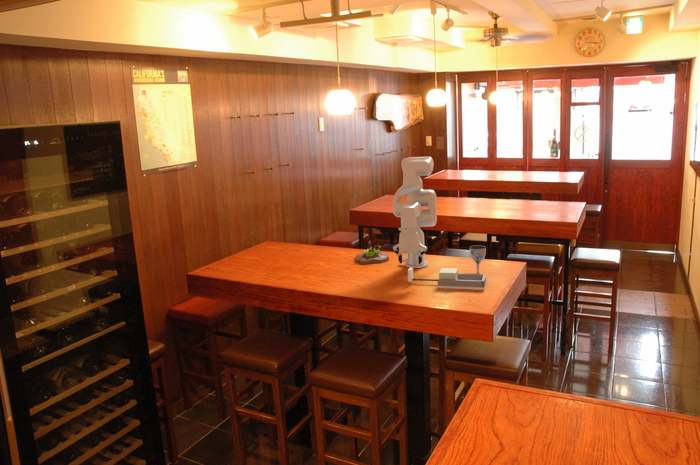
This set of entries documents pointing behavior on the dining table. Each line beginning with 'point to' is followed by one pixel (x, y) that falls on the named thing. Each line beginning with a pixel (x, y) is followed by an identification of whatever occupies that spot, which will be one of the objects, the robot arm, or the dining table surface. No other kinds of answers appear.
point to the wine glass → (477, 254)
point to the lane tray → (464, 282)
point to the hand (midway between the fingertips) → (410, 263)
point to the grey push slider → (443, 274)
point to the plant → (372, 256)
